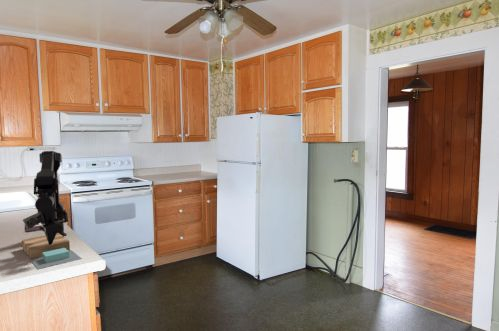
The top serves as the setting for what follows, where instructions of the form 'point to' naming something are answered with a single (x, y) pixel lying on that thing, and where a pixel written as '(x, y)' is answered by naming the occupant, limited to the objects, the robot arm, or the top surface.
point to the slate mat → (41, 263)
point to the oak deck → (43, 245)
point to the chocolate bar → (34, 228)
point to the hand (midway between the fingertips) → (50, 244)
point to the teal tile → (55, 255)
